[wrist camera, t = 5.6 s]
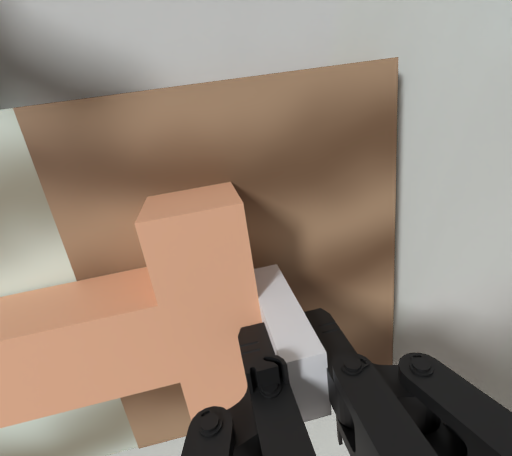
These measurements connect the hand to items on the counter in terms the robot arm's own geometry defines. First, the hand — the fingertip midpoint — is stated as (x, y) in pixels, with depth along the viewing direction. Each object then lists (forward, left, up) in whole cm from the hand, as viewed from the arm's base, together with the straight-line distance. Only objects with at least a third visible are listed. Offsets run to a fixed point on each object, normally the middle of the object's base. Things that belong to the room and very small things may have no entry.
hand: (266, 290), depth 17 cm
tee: (0, -7, -1) cm, 7 cm away
